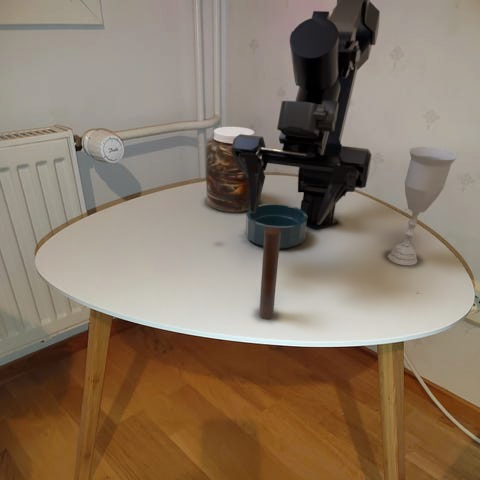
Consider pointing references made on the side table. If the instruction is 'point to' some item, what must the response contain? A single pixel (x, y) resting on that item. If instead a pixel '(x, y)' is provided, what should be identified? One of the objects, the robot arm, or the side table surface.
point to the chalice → (421, 192)
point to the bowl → (277, 224)
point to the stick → (269, 271)
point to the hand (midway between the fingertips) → (284, 217)
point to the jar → (226, 172)
